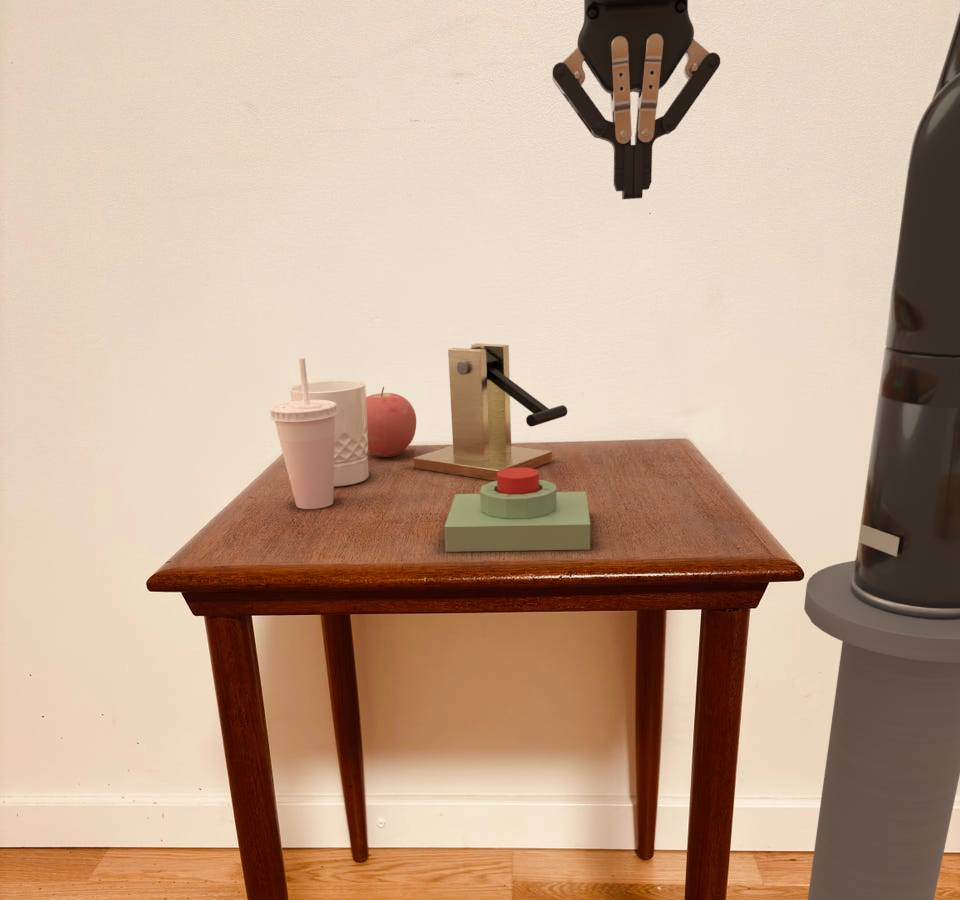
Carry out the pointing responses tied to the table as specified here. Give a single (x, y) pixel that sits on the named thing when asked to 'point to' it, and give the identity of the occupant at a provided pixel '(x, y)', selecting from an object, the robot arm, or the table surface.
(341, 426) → the white cup
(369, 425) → the apple
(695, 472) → the table surface
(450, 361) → the tan pivot stand
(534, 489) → the button
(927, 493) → the robot arm
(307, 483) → the smoothie
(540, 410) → the lever
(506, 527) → the button block
